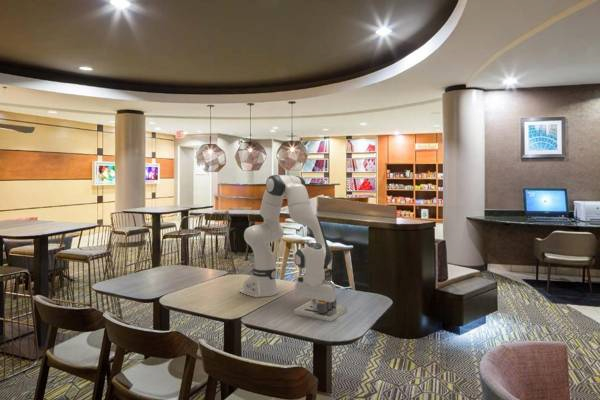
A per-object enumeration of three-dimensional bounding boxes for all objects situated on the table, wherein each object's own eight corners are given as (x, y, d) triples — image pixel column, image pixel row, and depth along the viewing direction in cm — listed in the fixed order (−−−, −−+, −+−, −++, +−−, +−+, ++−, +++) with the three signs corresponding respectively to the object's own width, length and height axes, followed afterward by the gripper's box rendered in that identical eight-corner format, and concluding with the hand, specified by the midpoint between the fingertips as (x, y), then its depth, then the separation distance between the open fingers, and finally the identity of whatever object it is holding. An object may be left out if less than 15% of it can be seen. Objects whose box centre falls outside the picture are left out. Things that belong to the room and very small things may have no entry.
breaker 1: (322, 309, 179) (322, 298, 178) (326, 306, 182) (325, 296, 181) (328, 310, 177) (327, 299, 177) (331, 307, 180) (331, 297, 180)
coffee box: (323, 303, 194) (322, 272, 193) (312, 301, 198) (312, 270, 197) (332, 298, 202) (332, 268, 201) (322, 296, 205) (322, 267, 205)
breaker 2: (327, 305, 183) (327, 296, 183) (330, 303, 186) (330, 294, 186) (332, 306, 181) (332, 297, 181) (336, 304, 184) (336, 295, 184)
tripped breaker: (317, 312, 174) (317, 301, 174) (321, 310, 177) (321, 299, 177) (323, 313, 173) (323, 302, 172) (327, 311, 176) (327, 300, 175)
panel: (293, 313, 180) (293, 309, 180) (311, 304, 193) (310, 300, 193) (331, 321, 169) (331, 316, 169) (346, 310, 183) (346, 306, 183)
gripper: (338, 280, 173) (338, 310, 174) (300, 274, 184) (300, 302, 185) (331, 283, 168) (332, 314, 168) (293, 277, 179) (293, 306, 179)
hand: (315, 308), depth 177 cm, fingers closed
